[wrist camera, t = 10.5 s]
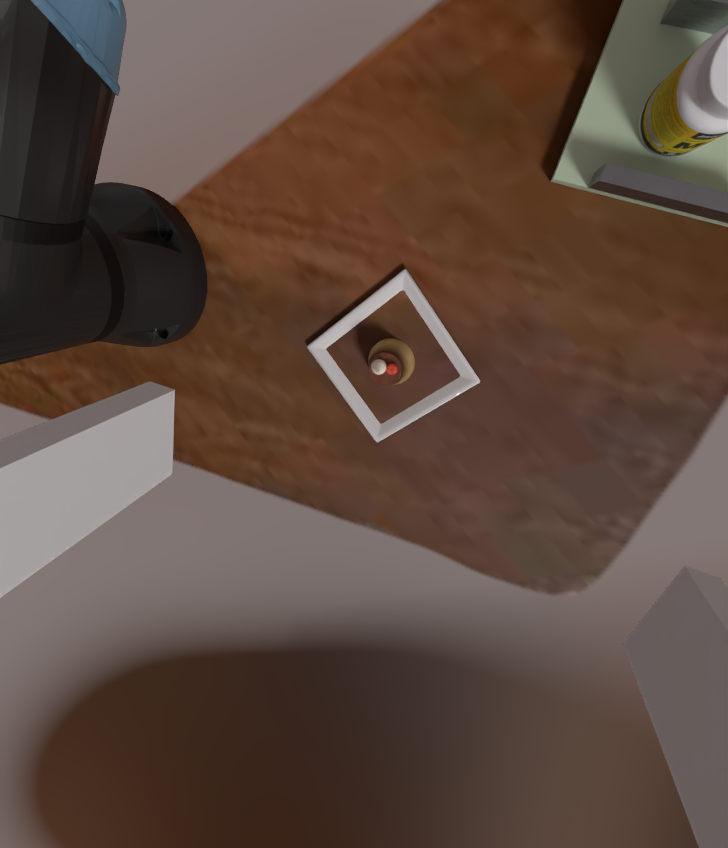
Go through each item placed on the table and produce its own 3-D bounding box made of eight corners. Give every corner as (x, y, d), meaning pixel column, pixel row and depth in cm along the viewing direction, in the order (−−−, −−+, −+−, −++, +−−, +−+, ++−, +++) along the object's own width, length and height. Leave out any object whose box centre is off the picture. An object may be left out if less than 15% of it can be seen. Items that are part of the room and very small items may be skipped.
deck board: (550, 181, 30) (552, 178, 29) (637, -38, 25) (644, -51, 24) (748, 232, 28) (759, 231, 27) (888, 7, 23) (908, -6, 22)
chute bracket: (588, 187, 29) (599, 180, 26) (669, 2, 24) (692, -30, 22) (736, 225, 27) (763, 222, 25) (849, 36, 23) (898, 7, 20)
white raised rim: (480, 378, 37) (481, 394, 33) (379, 438, 42) (368, 458, 38) (407, 267, 35) (397, 269, 31) (310, 344, 40) (290, 354, 36)
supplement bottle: (649, 174, 27) (713, 143, 20) (626, 103, 26) (684, 42, 19) (734, 127, 26) (840, 74, 18) (713, 49, 25) (816, -42, 17)
